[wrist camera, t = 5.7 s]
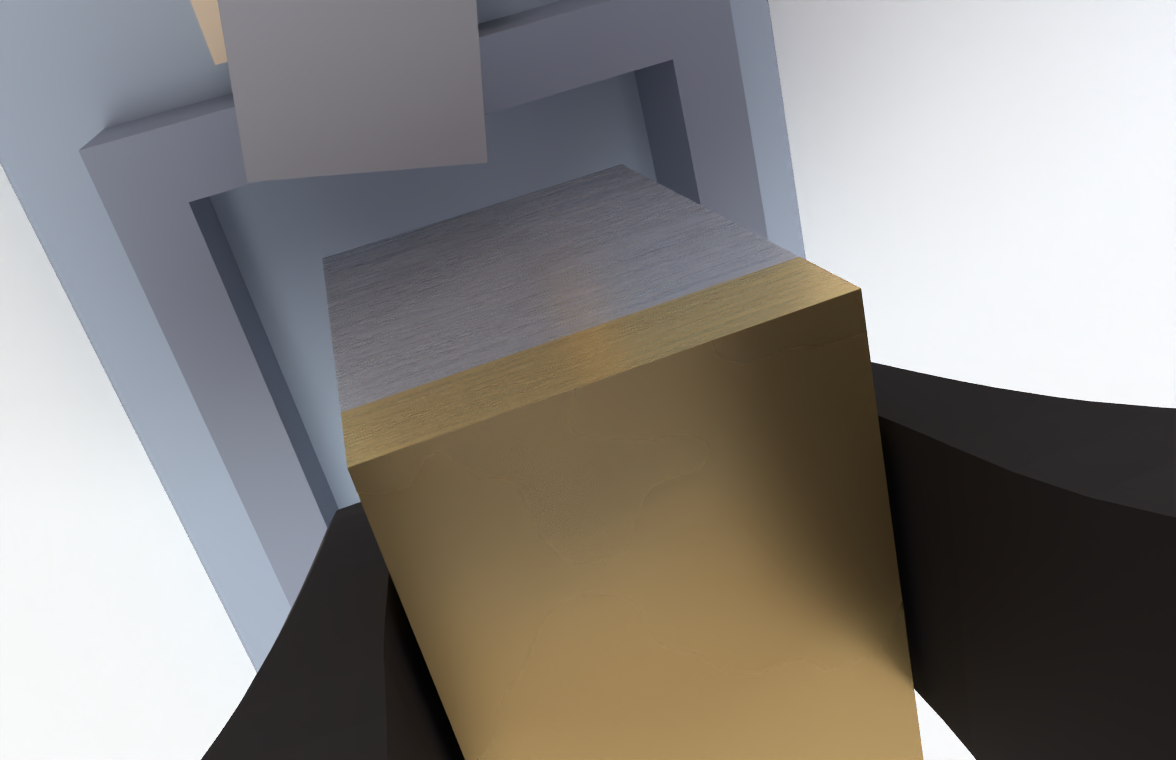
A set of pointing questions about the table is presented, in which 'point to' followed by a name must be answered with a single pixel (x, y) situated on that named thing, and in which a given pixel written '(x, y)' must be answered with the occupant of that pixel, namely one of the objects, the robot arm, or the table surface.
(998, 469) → the robot arm
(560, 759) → the tan and white block
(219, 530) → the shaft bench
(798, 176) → the table surface
